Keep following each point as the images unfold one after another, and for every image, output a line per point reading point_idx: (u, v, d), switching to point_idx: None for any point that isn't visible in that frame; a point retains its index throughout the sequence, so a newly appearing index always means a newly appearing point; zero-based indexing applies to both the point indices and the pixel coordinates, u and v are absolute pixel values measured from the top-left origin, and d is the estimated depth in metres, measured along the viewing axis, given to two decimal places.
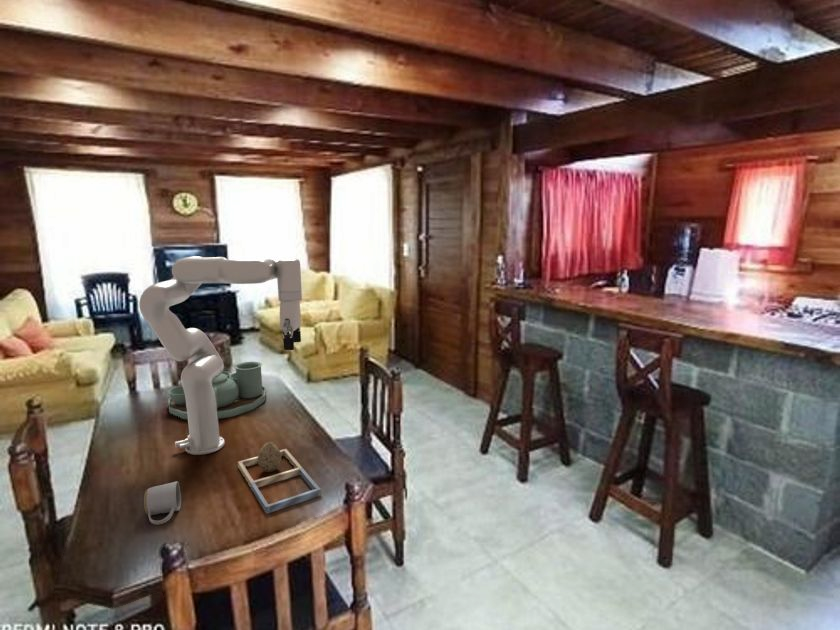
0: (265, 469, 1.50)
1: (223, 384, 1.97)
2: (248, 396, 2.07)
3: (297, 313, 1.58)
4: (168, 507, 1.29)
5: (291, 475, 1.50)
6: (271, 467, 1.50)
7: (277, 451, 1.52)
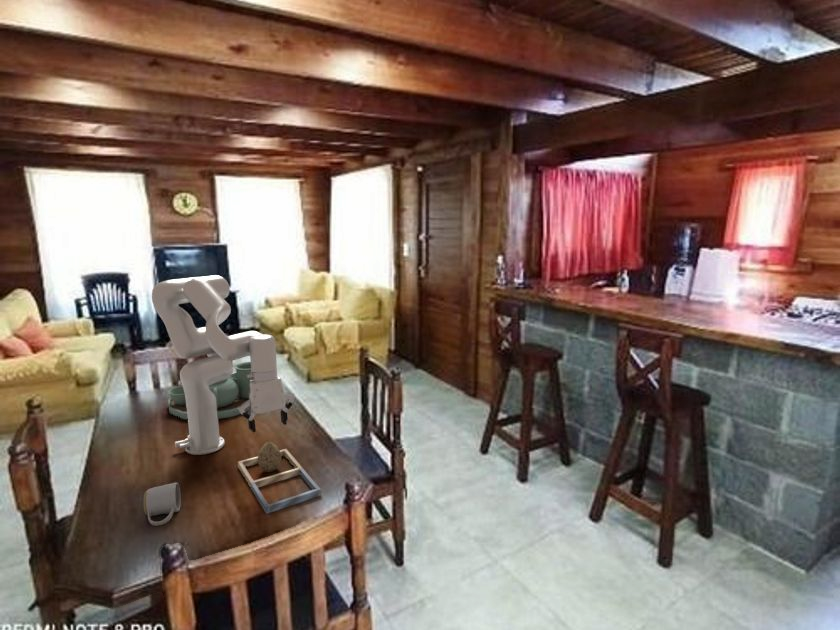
0: (265, 469, 1.50)
1: (223, 384, 1.97)
2: (248, 396, 2.07)
3: None
4: (168, 508, 1.29)
5: (291, 475, 1.50)
6: (271, 467, 1.50)
7: (277, 451, 1.52)
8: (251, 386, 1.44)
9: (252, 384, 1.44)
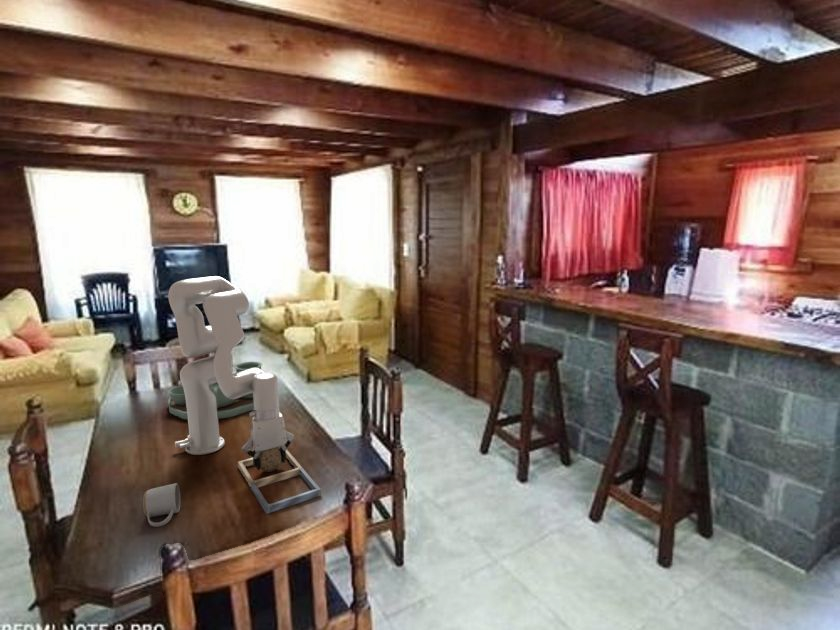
0: (265, 469, 1.50)
1: None
2: (248, 396, 2.07)
3: None
4: (167, 509, 1.29)
5: (291, 475, 1.50)
6: (271, 467, 1.50)
7: (277, 451, 1.52)
8: (253, 424, 1.47)
9: (254, 422, 1.46)
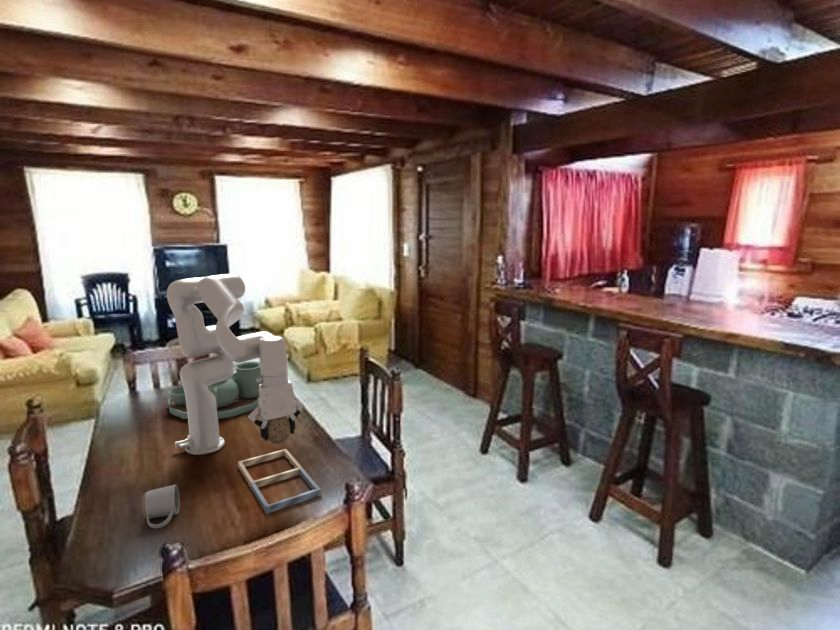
0: (273, 440, 1.39)
1: (224, 384, 1.96)
2: (248, 396, 2.07)
3: None
4: (167, 511, 1.28)
5: (291, 475, 1.50)
6: (280, 437, 1.39)
7: (286, 421, 1.41)
8: (260, 391, 1.36)
9: (261, 388, 1.35)
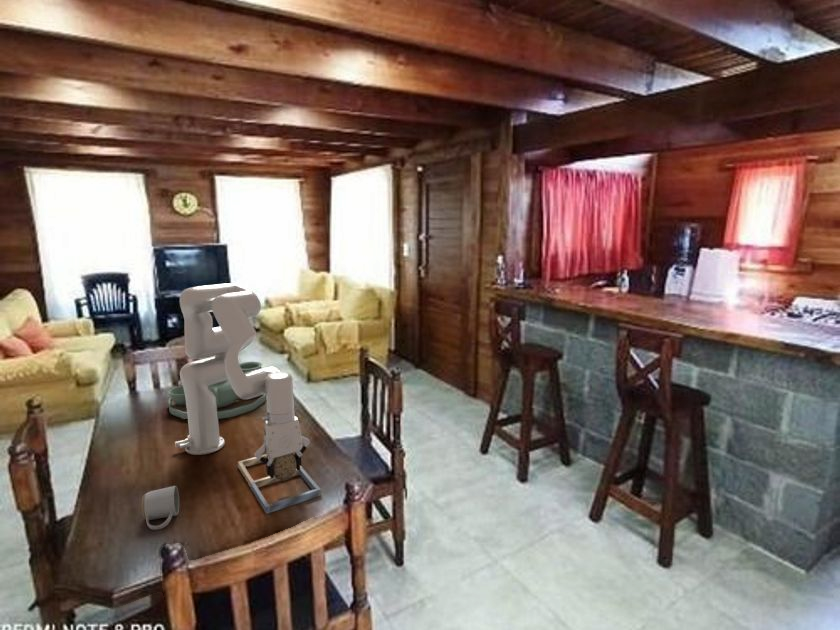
0: (279, 477, 1.38)
1: (224, 384, 1.96)
2: None
3: None
4: (166, 512, 1.27)
5: None
6: (286, 475, 1.38)
7: (292, 457, 1.39)
8: (267, 428, 1.34)
9: (268, 426, 1.34)
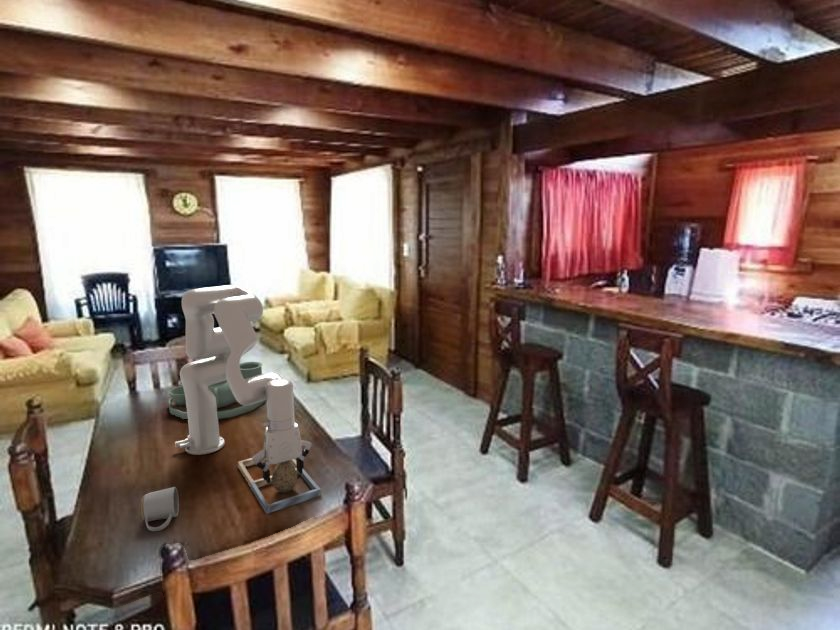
0: (280, 490, 1.39)
1: (224, 384, 1.96)
2: None
3: None
4: (166, 513, 1.27)
5: None
6: (286, 487, 1.39)
7: (293, 470, 1.40)
8: (267, 435, 1.35)
9: (268, 433, 1.35)
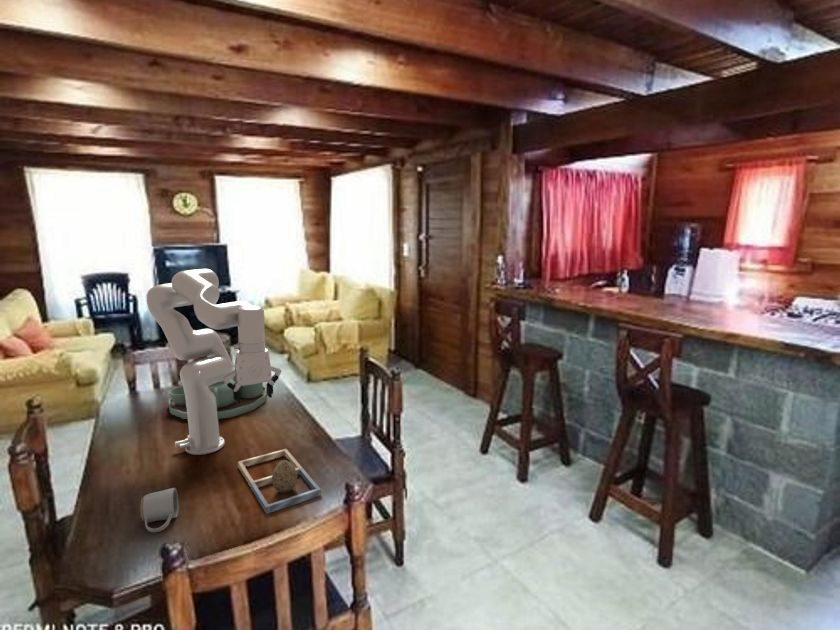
0: (280, 490, 1.39)
1: (224, 384, 1.96)
2: (249, 396, 2.07)
3: None
4: (165, 514, 1.26)
5: None
6: (287, 488, 1.39)
7: (293, 470, 1.40)
8: (237, 357, 1.42)
9: (238, 355, 1.42)
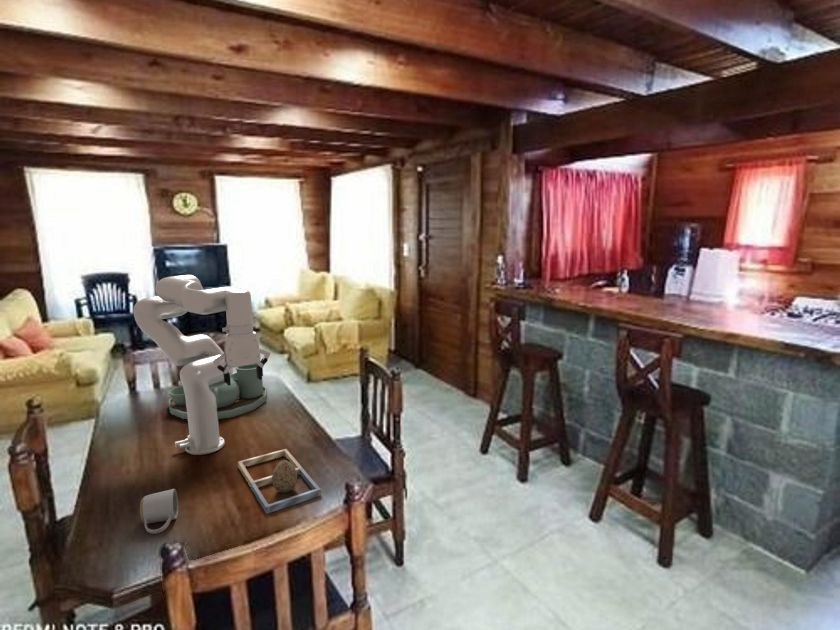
0: (280, 490, 1.39)
1: (224, 384, 1.96)
2: (249, 396, 2.07)
3: None
4: (165, 515, 1.26)
5: None
6: (287, 488, 1.39)
7: (293, 470, 1.41)
8: (226, 339, 1.47)
9: (227, 337, 1.46)
